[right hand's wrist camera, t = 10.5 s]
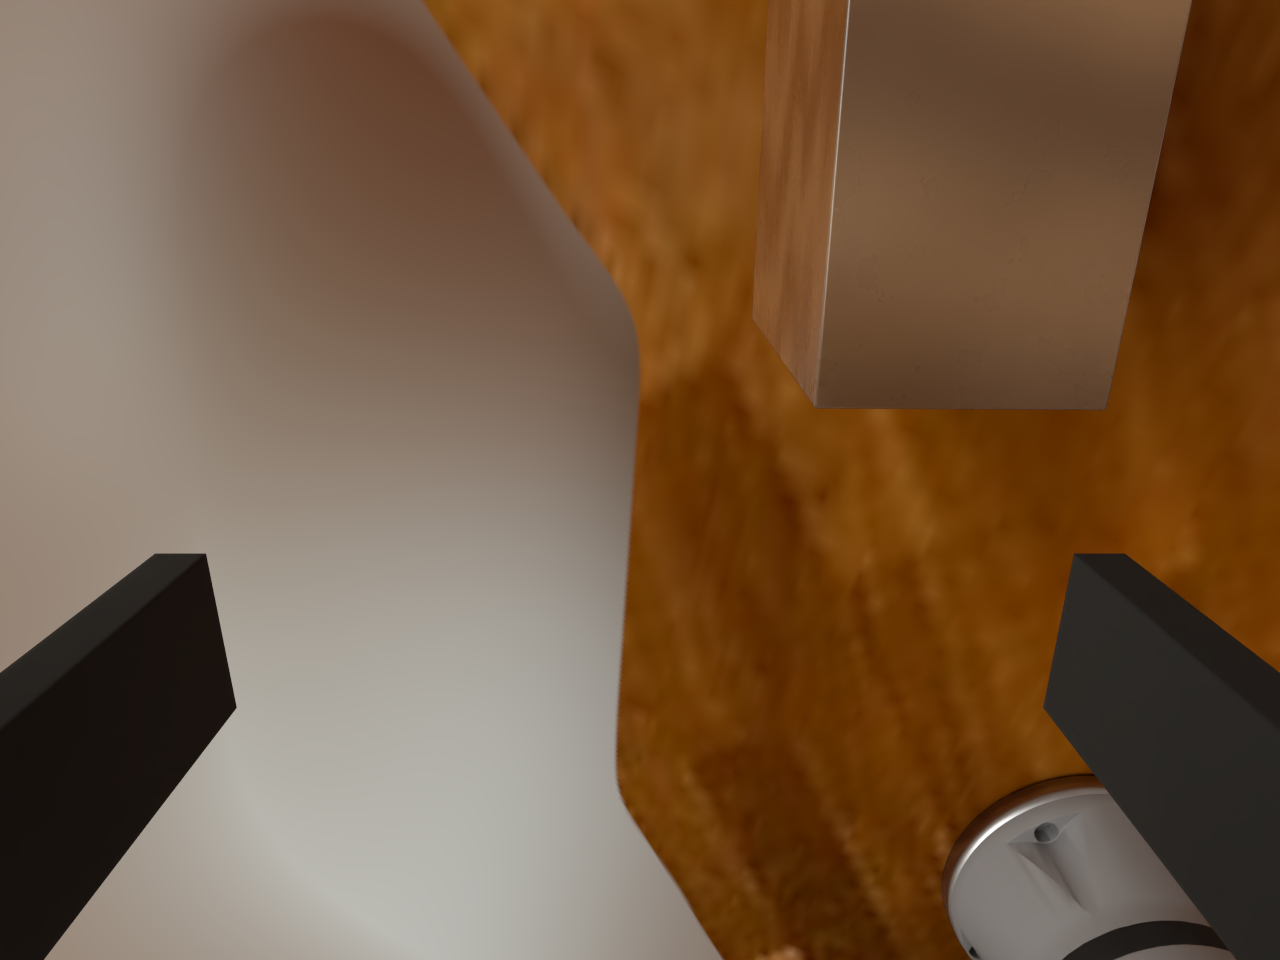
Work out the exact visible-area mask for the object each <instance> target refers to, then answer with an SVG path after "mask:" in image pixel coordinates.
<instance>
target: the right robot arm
mask: <svg viewBox="0 0 1280 960" xmlns="http://www.w3.org/2000/svg"><path fill="white" fill-rule="evenodd" d="M1043 708H1044V709H1045V710H1046V712H1047V713H1048V714H1049V716H1050V717H1051V718H1052V720H1053V721H1054V722H1055V723H1056V725H1057V726H1058V727H1059V729H1060V730H1061V731H1062V733H1063V734H1064V735H1065V737H1066V738H1067V739H1068V740H1069V742H1070V743H1071V744H1072V746H1073V747H1074V748H1075V750H1076V751H1077V752H1078V754H1079V755H1080V756H1081V757H1082V759H1083V760H1084V761H1085V763H1086V764H1087V765H1088V767H1089V768H1090V769H1091V771H1092V772H1093V773H1094V774H1095V776H1071V777H1064V778H1058V779H1053V780H1049V781H1045V782H1041V783H1038V784H1035V785H1032V786H1029V787H1026V788H1024V789H1021V790H1019V791H1017V792H1015V793H1013V794H1011V795H1009V796H1007V797H1005V798H1003V799H1002V800H1000V801H998V802H997V803H995V804H994V805H992V806H991V807H989V808H988V809H987V810H985V811H984V812H983V813H982V814H981V815H979V816H978V817H977V818H976V819H975V820H974V821H973V822H972V823H971V824H970V825H969V826H968V827H967V828H966V829H965V831H964V832H963V833H962V834H961V836H960V837H959V839H958V840H957V841H956V843H955V845H954V846H953V848H952V850H951V852H950V854H949V856H948V859H947V861H946V865H945V868H944V872H943V877H942V898H943V903H944V907H945V910H946V912H947V915H948V918H949V920H950V922H951V925H952V927H953V929H954V932H955V934H956V936H957V938H958V940H959V942H960V944H961V945H962V946H963V948H964V949H965V951H966V952H967V954H968V955H969V957H970V958H971V959H972V960H1280V673H1279V672H1278V671H1277V670H1275V669H1274V668H1273V667H1271V666H1270V665H1269V664H1267V663H1266V662H1265V661H1264V660H1262V659H1261V658H1260V657H1258V656H1257V655H1256V654H1254V653H1253V652H1252V651H1251V650H1249V649H1248V648H1247V647H1245V646H1244V645H1243V644H1241V643H1240V642H1239V641H1238V640H1236V639H1235V638H1234V637H1232V636H1231V635H1230V634H1228V633H1227V632H1226V631H1225V630H1223V629H1222V628H1221V627H1219V626H1218V625H1217V624H1215V623H1214V622H1213V621H1212V620H1210V619H1209V618H1208V617H1206V616H1205V615H1204V614H1202V613H1201V612H1200V611H1199V610H1197V609H1196V608H1195V607H1193V606H1192V605H1191V604H1189V603H1188V602H1187V601H1186V600H1184V599H1183V598H1182V597H1180V596H1179V595H1178V594H1177V593H1175V592H1174V591H1173V590H1171V589H1170V588H1169V587H1167V586H1166V585H1165V584H1164V583H1162V582H1161V581H1160V580H1158V579H1157V578H1156V577H1154V576H1153V575H1152V574H1151V573H1149V572H1148V571H1147V570H1145V569H1144V568H1143V567H1141V566H1140V565H1139V564H1138V563H1136V562H1135V561H1134V560H1132V559H1131V558H1130V557H1128V556H1127V555H1126V554H1074V557H1073V562H1072V567H1071V572H1070V577H1069V582H1068V587H1067V592H1066V597H1065V602H1064V607H1063V612H1062V617H1061V622H1060V627H1059V632H1058V637H1057V642H1056V647H1055V652H1054V657H1053V662H1052V667H1051V672H1050V677H1049V682H1048V687H1047V692H1046V697H1045V702H1044V707H1043ZM235 709H236V702H235V697H234V692H233V687H232V682H231V677H230V672H229V667H228V662H227V657H226V652H225V647H224V642H223V637H222V632H221V627H220V622H219V617H218V612H217V607H216V602H215V597H214V592H213V587H212V582H211V577H210V572H209V567H208V562H207V557H206V554H154V555H153V556H152V557H150V558H149V559H148V560H146V561H145V562H144V563H142V564H141V565H140V566H139V567H137V568H136V569H135V570H133V571H132V572H131V573H130V574H128V575H127V576H126V577H124V578H123V579H122V580H120V581H119V582H118V583H116V584H115V585H114V586H113V587H111V588H110V589H109V590H107V591H106V592H105V593H103V594H102V595H101V596H100V597H98V598H97V599H96V600H94V601H93V602H92V603H91V604H89V605H88V606H87V607H85V608H84V609H83V610H81V611H80V612H79V613H78V614H76V615H75V616H74V617H72V618H71V619H70V620H68V621H67V622H66V623H65V624H63V625H62V626H61V627H59V628H58V629H57V630H55V631H54V632H53V633H52V634H50V635H49V636H48V637H46V638H45V639H44V640H42V641H41V642H40V643H39V644H37V645H36V646H35V647H33V648H32V649H31V650H29V651H28V652H27V653H26V654H24V655H23V656H22V657H20V658H19V659H18V660H17V661H15V662H14V663H13V664H11V665H10V666H9V667H7V668H6V669H5V670H3V671H2V672H1V673H0V960H44V959H45V957H46V956H47V955H48V953H49V952H50V951H51V950H52V948H53V947H54V946H55V944H56V943H57V942H58V940H59V939H60V938H61V936H62V935H63V934H64V933H65V931H66V930H67V929H68V927H69V926H70V925H71V923H72V922H73V921H74V920H75V918H76V917H77V916H78V914H79V913H80V912H81V910H82V909H83V908H84V906H85V905H86V904H87V903H88V901H89V900H90V899H91V897H92V896H93V895H94V893H95V892H96V891H97V889H98V888H99V887H100V886H101V884H102V883H103V882H104V880H105V879H106V878H107V876H108V875H109V874H110V872H111V871H112V870H113V868H114V867H115V866H116V865H117V863H118V862H119V861H120V859H121V858H122V857H123V855H124V854H125V853H126V852H127V850H128V849H129V848H130V846H131V845H132V844H133V842H134V841H135V840H136V838H137V837H138V836H139V835H140V833H141V832H142V831H143V829H144V828H145V827H146V825H147V824H148V823H149V821H150V820H151V819H152V818H153V816H154V815H155V814H156V812H157V811H158V810H159V808H160V807H161V806H162V804H163V803H164V802H165V801H166V799H167V798H168V797H169V795H170V794H171V793H172V791H173V790H174V789H175V787H176V786H177V785H178V784H179V782H180V781H181V780H182V778H183V777H184V776H185V774H186V773H187V772H188V771H189V769H190V768H191V767H192V765H193V764H194V763H195V761H196V760H197V759H198V757H199V756H200V755H201V754H202V752H203V751H204V750H205V748H206V747H207V746H208V744H209V743H210V742H211V740H212V739H213V738H214V737H215V735H216V734H217V733H218V731H219V730H220V729H221V727H222V726H223V725H224V723H225V722H226V721H227V720H228V718H229V717H230V716H231V714H232V713H233V712H234V710H235Z"/></svg>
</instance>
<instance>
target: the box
mask: <svg viewBox="0 0 1280 960" xmlns="http://www.w3.org/2000/svg"><path fill="white" fill-rule="evenodd" d="M1191 4H1192V0H769V1H768V21H767V40H766V60H765V79H764V98H763V118H762V137H761V157H760V176H759V196H758V215H757V235H756V254H755V274H754V293H753V313H752V318H753V320H754V322H755V323H756V324H757V326H758V327H759V329H760V330H761V332H762V333H763V334H764V336H765V337H766V339H767V340H768V342H769V343H770V344H771V346H772V347H773V349H774V350H775V351H776V353H777V354H778V356H779V357H780V359H781V360H782V361H783V363H784V364H785V366H786V367H787V369H788V370H789V371H790V373H791V374H792V376H793V377H794V378H795V380H796V381H797V383H798V384H799V386H800V387H801V388H802V390H803V391H804V393H805V394H806V396H807V397H808V398H809V400H810V401H811V403H812V404H813V405H814V407H815V408H863V409H1026V410H1105V409H1106V408H1107V403H1108V398H1109V393H1110V389H1111V384H1112V379H1113V374H1114V370H1115V365H1116V360H1117V355H1118V351H1119V346H1120V341H1121V336H1122V332H1123V327H1124V322H1125V317H1126V313H1127V308H1128V303H1129V298H1130V294H1131V289H1132V284H1133V279H1134V275H1135V270H1136V265H1137V260H1138V256H1139V251H1140V246H1141V241H1142V237H1143V232H1144V227H1145V222H1146V218H1147V213H1148V208H1149V203H1150V198H1151V194H1152V189H1153V184H1154V179H1155V175H1156V170H1157V165H1158V160H1159V156H1160V151H1161V146H1162V141H1163V137H1164V132H1165V127H1166V122H1167V118H1168V113H1169V108H1170V103H1171V99H1172V94H1173V89H1174V84H1175V80H1176V75H1177V70H1178V65H1179V61H1180V56H1181V51H1182V46H1183V42H1184V37H1185V32H1186V27H1187V23H1188V18H1189V13H1190V8H1191Z"/></svg>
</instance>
